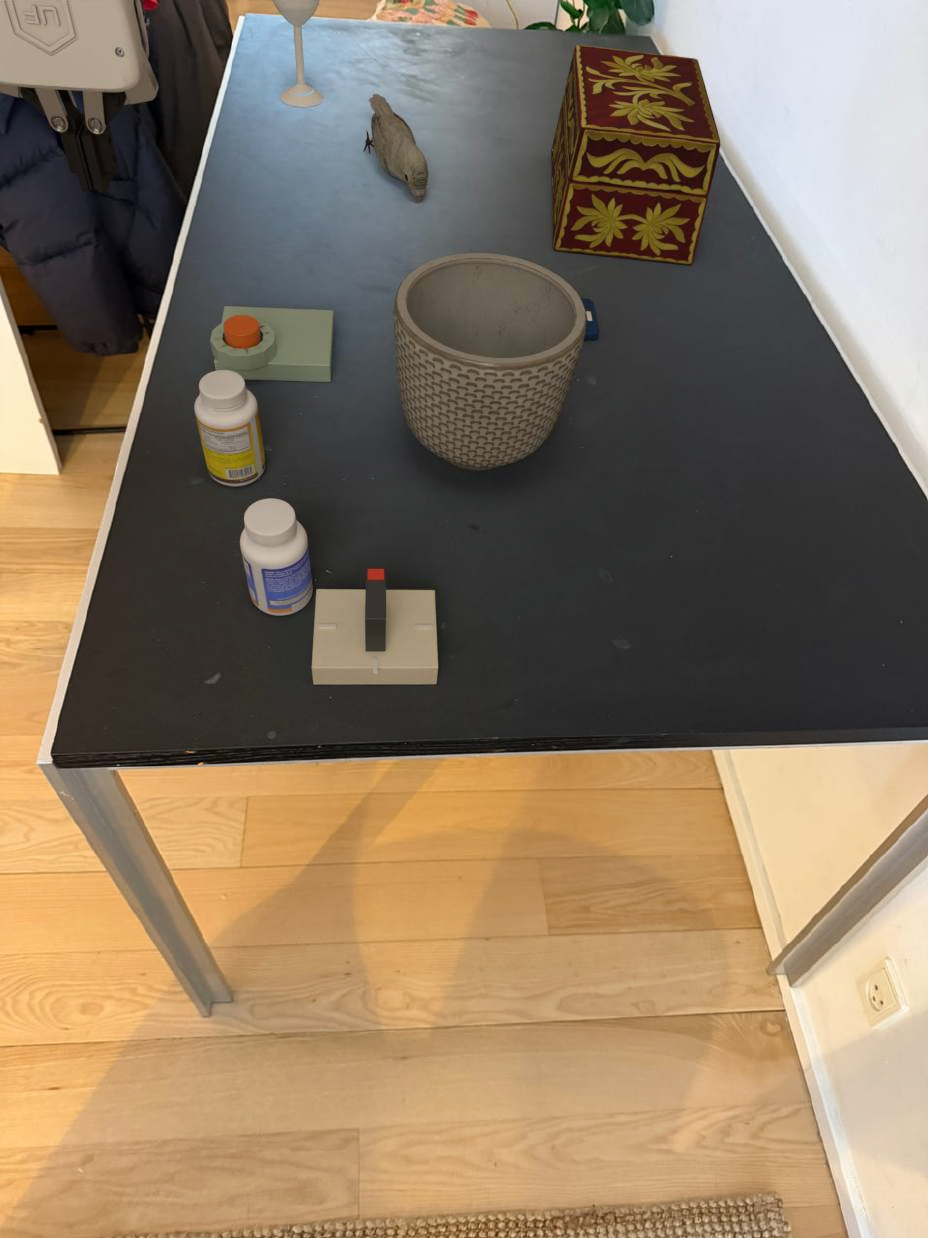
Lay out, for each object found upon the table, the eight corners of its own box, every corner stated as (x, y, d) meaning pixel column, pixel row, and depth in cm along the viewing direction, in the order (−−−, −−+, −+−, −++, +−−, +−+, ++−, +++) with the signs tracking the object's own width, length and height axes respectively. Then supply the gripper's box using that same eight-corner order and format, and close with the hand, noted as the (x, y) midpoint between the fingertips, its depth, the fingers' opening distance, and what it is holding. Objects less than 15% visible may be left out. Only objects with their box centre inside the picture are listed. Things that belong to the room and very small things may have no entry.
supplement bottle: (233, 442, 86) (218, 355, 78) (278, 464, 85) (267, 379, 77) (195, 473, 83) (175, 387, 75) (240, 497, 82) (225, 412, 73)
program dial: (385, 651, 69) (386, 617, 66) (365, 651, 69) (364, 616, 65) (385, 602, 72) (386, 566, 69) (366, 602, 72) (365, 566, 68)
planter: (357, 424, 89) (355, 283, 76) (488, 370, 96) (505, 233, 84) (458, 527, 82) (474, 390, 69) (592, 460, 89) (628, 324, 76)
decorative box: (693, 266, 113) (730, 147, 101) (552, 251, 112) (573, 130, 101) (673, 166, 130) (703, 54, 118) (550, 152, 129) (568, 38, 117)
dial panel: (312, 691, 69) (310, 673, 67) (318, 601, 75) (316, 581, 73) (436, 691, 70) (438, 673, 68) (433, 602, 76) (434, 582, 74)
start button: (223, 349, 89) (221, 334, 88) (227, 328, 91) (225, 313, 90) (259, 350, 89) (257, 336, 88) (262, 329, 92) (260, 315, 90)
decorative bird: (401, 206, 116) (403, 149, 110) (358, 151, 125) (357, 95, 119) (438, 200, 118) (441, 143, 112) (392, 147, 126) (393, 91, 120)
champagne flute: (332, 99, 134) (326, -96, 115) (300, 110, 131) (287, -88, 112) (303, 83, 136) (291, -110, 117) (270, 95, 133) (253, -102, 114)
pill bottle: (324, 583, 76) (318, 505, 68) (292, 627, 73) (282, 550, 65) (271, 561, 77) (260, 482, 70) (237, 603, 74) (221, 525, 66)
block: (213, 386, 91) (207, 354, 88) (224, 322, 98) (219, 290, 94) (330, 389, 92) (328, 358, 89) (334, 326, 99) (332, 295, 96)
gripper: (-157, -146, 45) (-26, 204, 59) (142, -120, 46) (198, 215, 61) (-107, -182, 49) (3, 151, 64) (164, -157, 51) (211, 163, 65)
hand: (98, 182), depth 62 cm, fingers closed
